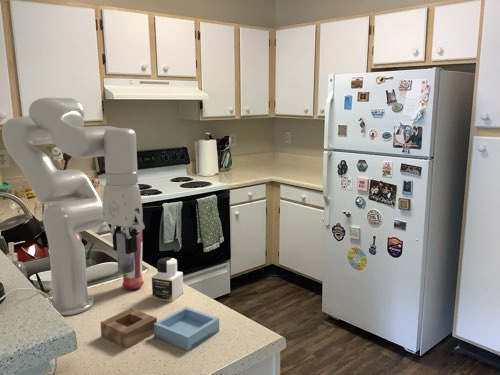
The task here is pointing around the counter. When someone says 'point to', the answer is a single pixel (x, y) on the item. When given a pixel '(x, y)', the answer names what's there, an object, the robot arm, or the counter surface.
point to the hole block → (128, 327)
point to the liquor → (135, 268)
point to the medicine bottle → (167, 280)
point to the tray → (186, 328)
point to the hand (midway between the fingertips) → (125, 250)
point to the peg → (123, 254)
